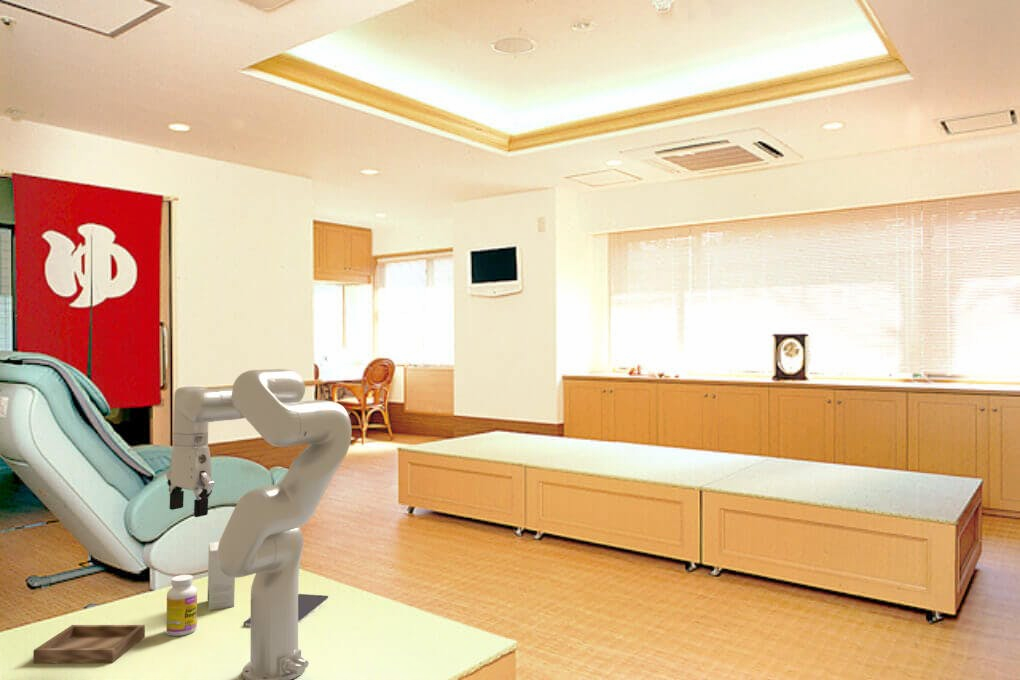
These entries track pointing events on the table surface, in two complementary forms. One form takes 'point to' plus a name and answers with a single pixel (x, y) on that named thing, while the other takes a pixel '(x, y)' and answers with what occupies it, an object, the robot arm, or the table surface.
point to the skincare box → (218, 582)
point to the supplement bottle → (181, 606)
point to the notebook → (303, 606)
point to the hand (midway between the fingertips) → (188, 512)
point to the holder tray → (90, 644)
